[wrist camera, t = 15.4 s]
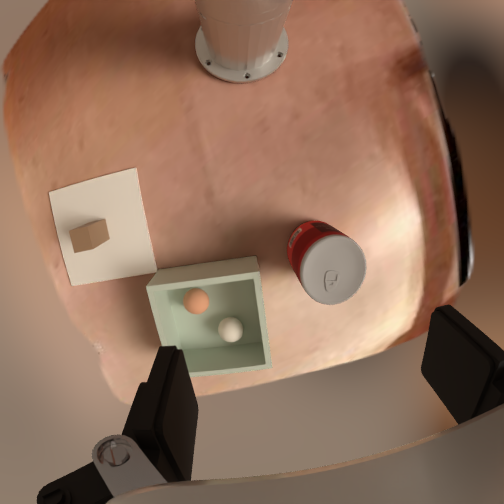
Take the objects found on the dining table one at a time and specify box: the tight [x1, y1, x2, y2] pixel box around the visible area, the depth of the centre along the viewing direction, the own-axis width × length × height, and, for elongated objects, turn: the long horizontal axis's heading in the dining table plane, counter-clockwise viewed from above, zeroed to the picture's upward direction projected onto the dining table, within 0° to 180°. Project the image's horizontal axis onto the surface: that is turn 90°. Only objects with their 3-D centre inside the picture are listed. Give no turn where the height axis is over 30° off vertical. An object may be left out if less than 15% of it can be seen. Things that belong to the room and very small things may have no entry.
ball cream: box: [218, 317, 244, 342], centre depth 44 cm, size 4×4×4 cm
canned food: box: [287, 221, 366, 305], centre depth 39 cm, size 8×8×11 cm
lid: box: [49, 168, 158, 286], centre depth 40 cm, size 15×15×7 cm
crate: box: [146, 256, 272, 377], centre depth 43 cm, size 14×14×7 cm
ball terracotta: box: [183, 288, 209, 314], centre depth 43 cm, size 4×4×4 cm
